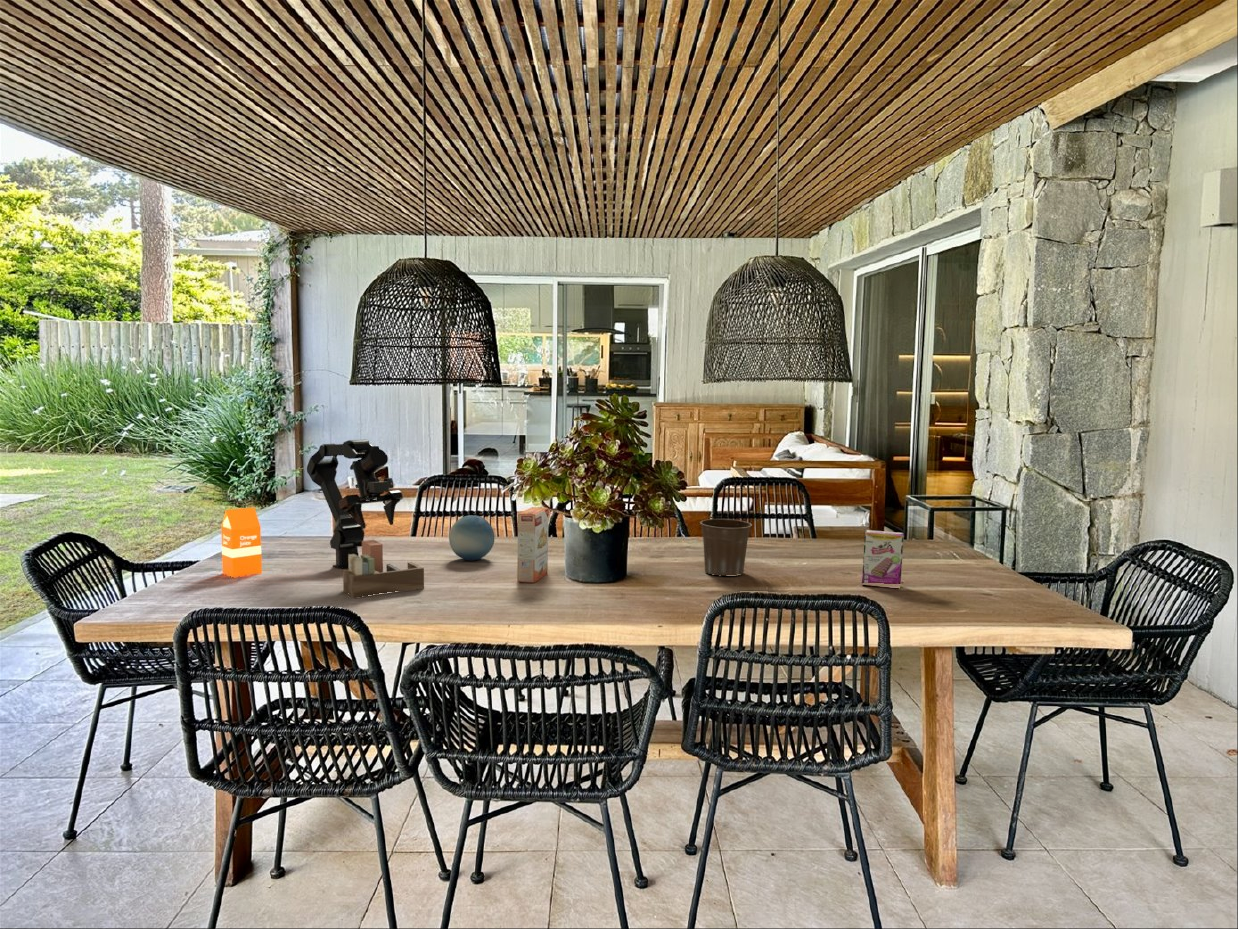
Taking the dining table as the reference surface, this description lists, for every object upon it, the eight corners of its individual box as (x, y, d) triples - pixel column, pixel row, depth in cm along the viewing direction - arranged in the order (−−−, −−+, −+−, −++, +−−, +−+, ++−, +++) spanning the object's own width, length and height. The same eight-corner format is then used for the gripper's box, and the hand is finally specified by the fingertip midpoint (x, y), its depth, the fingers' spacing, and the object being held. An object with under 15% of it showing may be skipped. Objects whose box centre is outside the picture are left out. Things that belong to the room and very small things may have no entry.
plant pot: (760, 573, 259) (762, 523, 258) (730, 581, 248) (732, 529, 246) (718, 565, 270) (720, 517, 269) (688, 572, 259) (689, 522, 257)
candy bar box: (861, 586, 244) (864, 532, 243) (862, 582, 249) (864, 529, 247) (901, 590, 241) (903, 535, 239) (901, 586, 245) (903, 532, 244)
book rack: (342, 590, 231) (342, 553, 230) (410, 581, 243) (410, 546, 242) (354, 598, 223) (353, 560, 222) (424, 588, 234) (423, 552, 233)
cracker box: (535, 583, 242) (536, 513, 240) (516, 582, 243) (516, 513, 241) (549, 573, 256) (549, 507, 254) (530, 572, 257) (531, 506, 255)
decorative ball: (474, 566, 263) (474, 520, 262) (439, 561, 270) (439, 516, 269) (503, 558, 276) (503, 514, 274) (469, 553, 283) (469, 510, 282)
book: (362, 580, 243) (361, 540, 242) (374, 579, 245) (373, 539, 244) (371, 586, 236) (370, 545, 235) (383, 584, 238) (382, 544, 237)
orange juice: (222, 573, 249) (220, 508, 247) (251, 569, 256) (249, 505, 254) (232, 577, 244) (230, 511, 242) (262, 573, 250) (260, 508, 249)
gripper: (349, 470, 238) (362, 521, 234) (405, 466, 251) (418, 514, 248) (332, 484, 245) (345, 533, 242) (388, 479, 258) (400, 526, 255)
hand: (378, 526), depth 246 cm, fingers open, 9 cm apart
